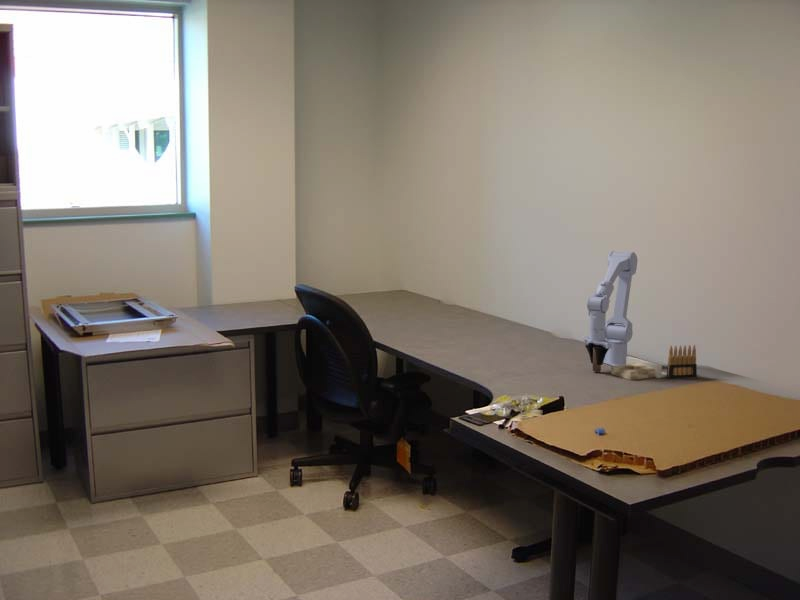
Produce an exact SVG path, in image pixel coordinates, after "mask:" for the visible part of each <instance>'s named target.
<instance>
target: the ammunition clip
mask: <svg viewBox="0 0 800 600" xmlns="http://www.w3.org/2000/svg"><path fill="white" fill-rule="evenodd" d="M696 348H697V347H696V344H694V345H693V346H692V347H691V345H690V344H689V345H688V348H687V346H686V345H684V346H683V349H682V346H681V344H680V346H679V347H677V345H675V346H674V349H673V346H672V345H670V347H669V349H668V350H669V351H668V360H667V369H666V373H667V377H666V378H667V379H671V380H672V379H692V378H693V379H696V378H698V377H697V372H698V371H697V367H698V366H697V349H696Z"/></svg>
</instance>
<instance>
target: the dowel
mask: <svg viewBox="0 0 800 600" xmlns="http://www.w3.org/2000/svg"><path fill="white" fill-rule="evenodd" d="M601 368H602V365H597V362H596V353H595V349H594V347H593V363H592V372H596V373H598V372H599V373H600V372H601V371H602V369H601Z"/></svg>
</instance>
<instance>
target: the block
mask: <svg viewBox="0 0 800 600" xmlns="http://www.w3.org/2000/svg"><path fill="white" fill-rule="evenodd" d="M610 366H611V372H610V373H611V375H613V376H617V377H620V378H623V379H626V380H629V381H635V380H641V379H650V378H656V377H655V369H653V368H650V367H646V366H643V365H640V364H636V363H633V364H624V365H616V366H612V365H610Z"/></svg>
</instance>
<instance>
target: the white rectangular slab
mask: <svg viewBox="0 0 800 600" xmlns="http://www.w3.org/2000/svg"><path fill="white" fill-rule="evenodd" d="M633 363H636V364H640V365H643V366H646V367H650V368H653V369H655V377H654V378H656V379H661V378H667V372H664V371H662V369H663V365H662V364H658V363H654V362H651V361H649V360H648V361H647V360H644V359H640V358H636V357H633V356H627V357H626V364H633Z"/></svg>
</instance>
